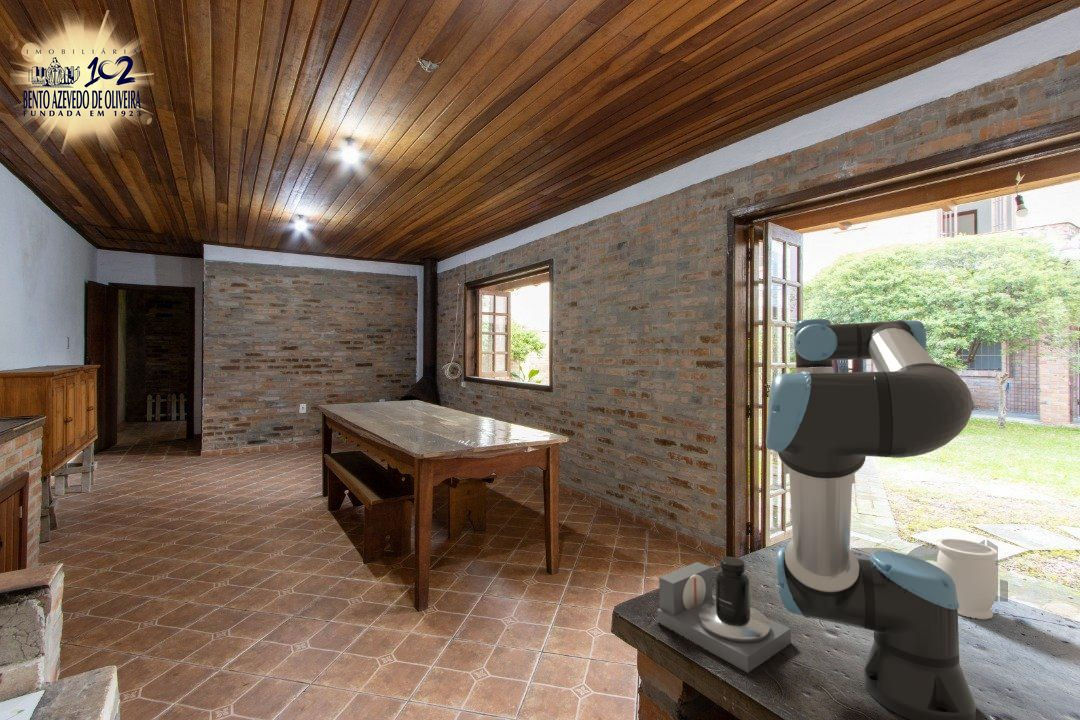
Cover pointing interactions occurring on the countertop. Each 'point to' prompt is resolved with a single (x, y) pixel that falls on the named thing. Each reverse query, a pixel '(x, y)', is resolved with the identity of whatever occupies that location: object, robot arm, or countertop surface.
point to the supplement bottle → (733, 592)
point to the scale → (681, 614)
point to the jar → (970, 575)
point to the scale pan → (739, 633)
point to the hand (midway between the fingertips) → (817, 478)
